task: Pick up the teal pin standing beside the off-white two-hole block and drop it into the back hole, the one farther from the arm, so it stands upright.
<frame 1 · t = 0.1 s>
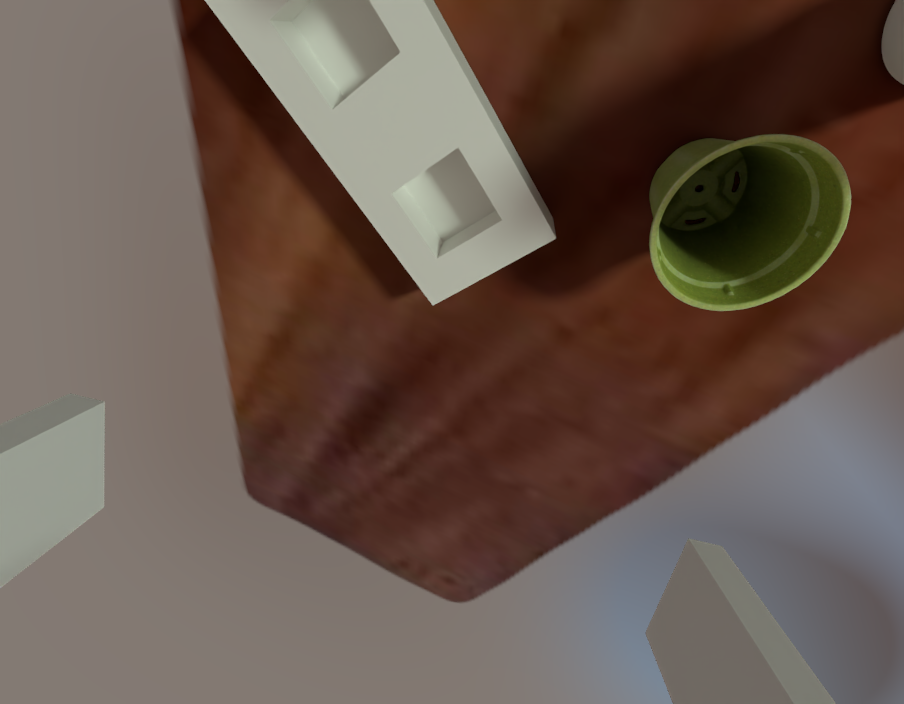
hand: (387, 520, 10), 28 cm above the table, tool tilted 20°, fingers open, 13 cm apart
plant pot: (694, 185, 32), on the table
hole block: (408, 118, 31), on the table
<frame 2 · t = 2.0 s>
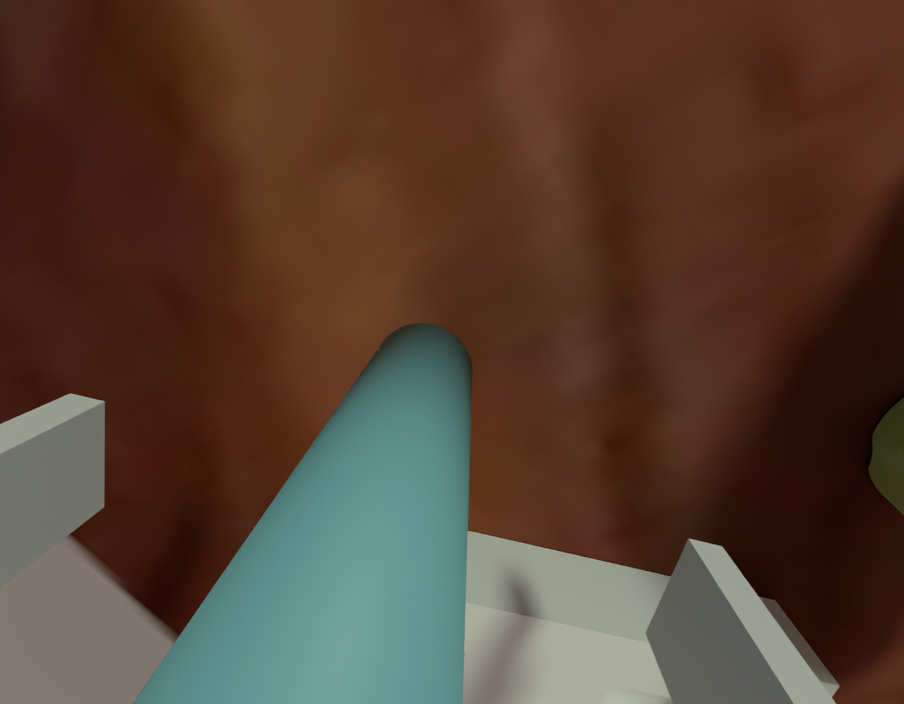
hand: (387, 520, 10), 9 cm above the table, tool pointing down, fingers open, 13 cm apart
hole block: (513, 629, 23), on the table
teal pin: (422, 371, 19), on the table
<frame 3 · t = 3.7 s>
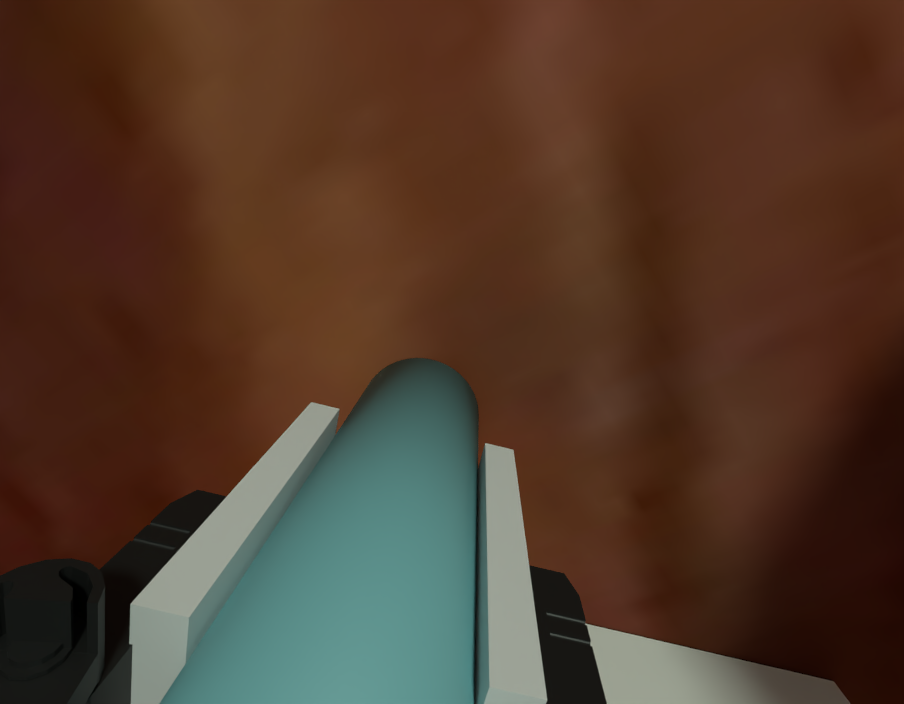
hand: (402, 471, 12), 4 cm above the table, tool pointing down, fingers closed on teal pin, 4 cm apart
teal pin: (419, 414, 16), on the table, touching gripper
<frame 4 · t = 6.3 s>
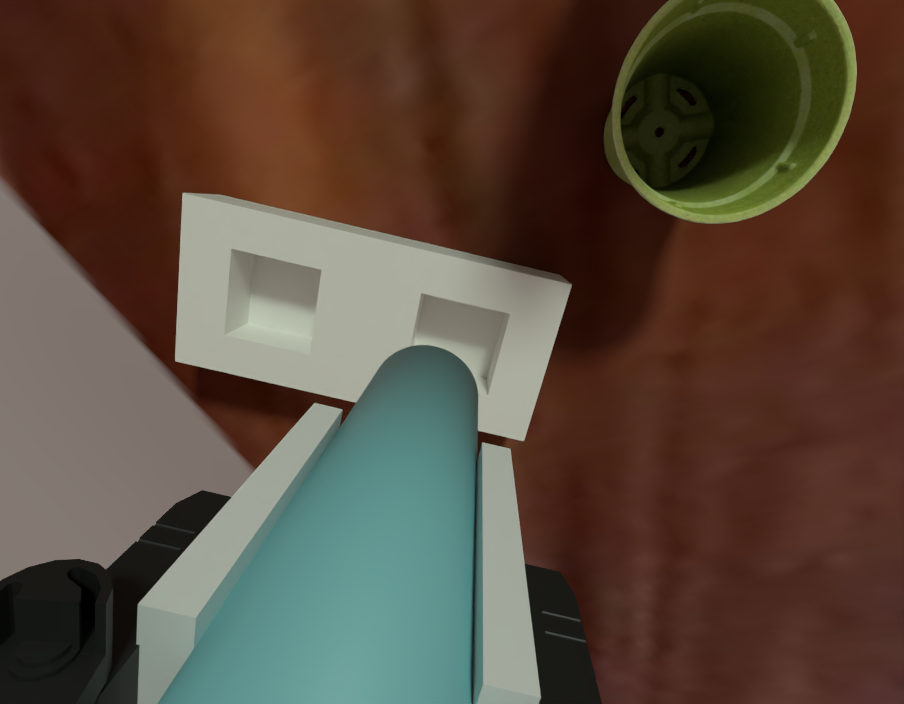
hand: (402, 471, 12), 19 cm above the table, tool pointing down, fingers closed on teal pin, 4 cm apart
plant pot: (653, 135, 27), on the table
hole block: (377, 310, 31), on the table
teal pin: (424, 396, 17), point 14 cm above the table, touching gripper
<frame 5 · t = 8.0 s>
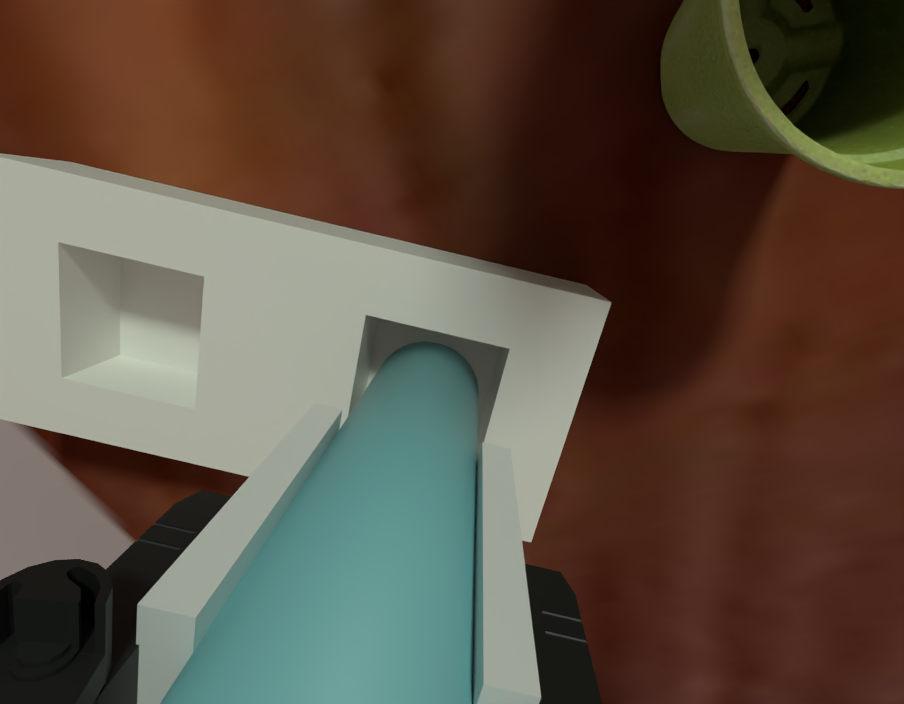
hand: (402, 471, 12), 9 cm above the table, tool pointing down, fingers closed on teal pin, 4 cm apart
plant pot: (738, 65, 17), on the table
hole block: (313, 336, 21), on the table
teal pin: (426, 391, 18), point 3 cm above the table, touching gripper
when the fingers open (6 cm above the table, at t = 8.9 s): teal pin stays where it is, resting on hole block.
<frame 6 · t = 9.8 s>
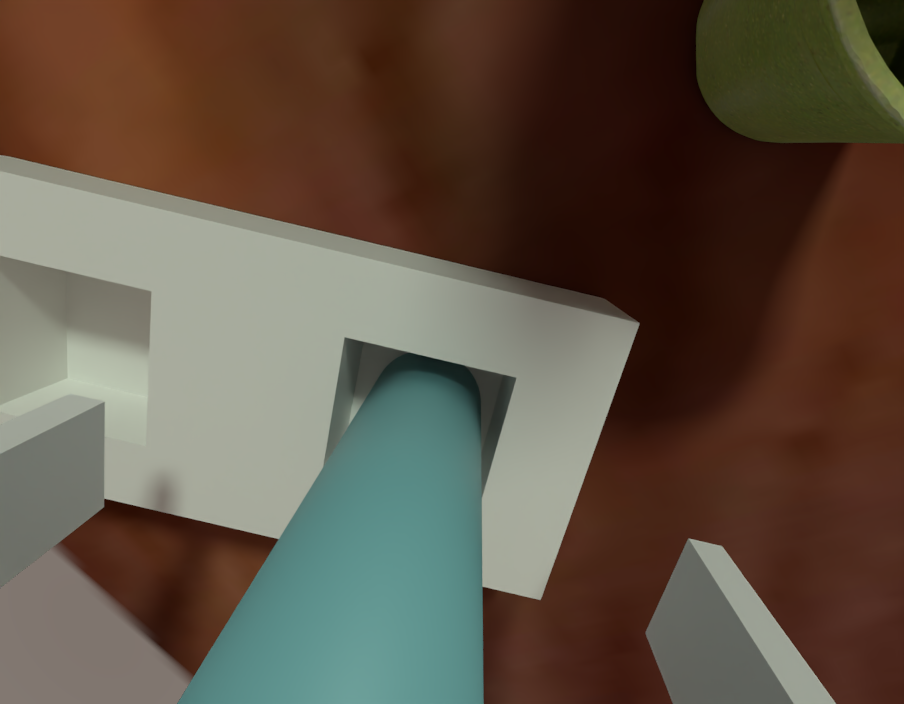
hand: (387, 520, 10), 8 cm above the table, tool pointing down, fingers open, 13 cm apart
plant pot: (787, 40, 15), on the table
hole block: (290, 356, 18), on the table
teal pin: (427, 401, 17), point 1 cm above the table, touching hole block
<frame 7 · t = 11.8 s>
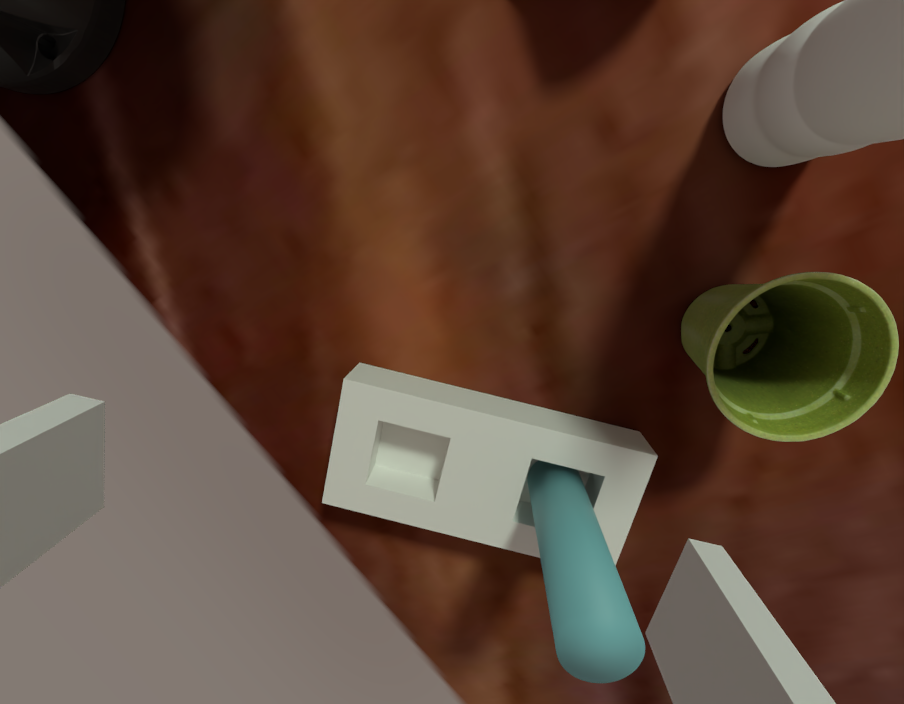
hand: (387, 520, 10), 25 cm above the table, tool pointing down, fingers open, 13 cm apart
plant pot: (721, 327, 33), on the table
water bottle: (774, 109, 30), on the table
hole block: (483, 454, 37), on the table
teal pin: (553, 479, 36), point 1 cm above the table, touching hole block
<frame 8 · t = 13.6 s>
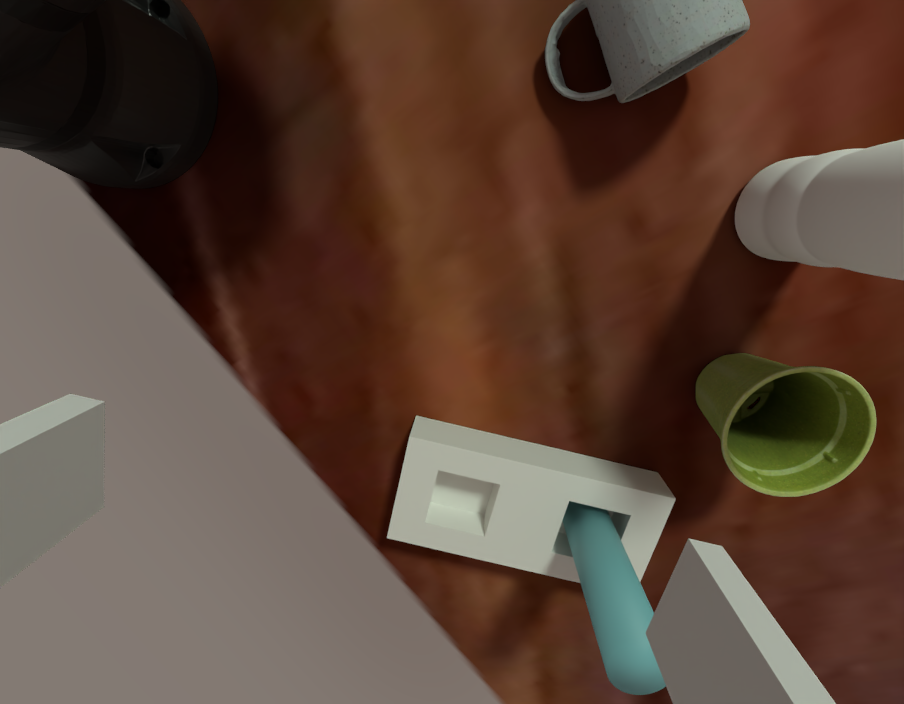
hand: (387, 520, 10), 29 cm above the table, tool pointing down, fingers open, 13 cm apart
plant pot: (729, 386, 39), on the table
ceramic mug: (621, 45, 32), on the table
water bottle: (778, 210, 35), on the table
hole block: (522, 491, 43), on the table
teal pin: (583, 513, 42), point 1 cm above the table, touching hole block
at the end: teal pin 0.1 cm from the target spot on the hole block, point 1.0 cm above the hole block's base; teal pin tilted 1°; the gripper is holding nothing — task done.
